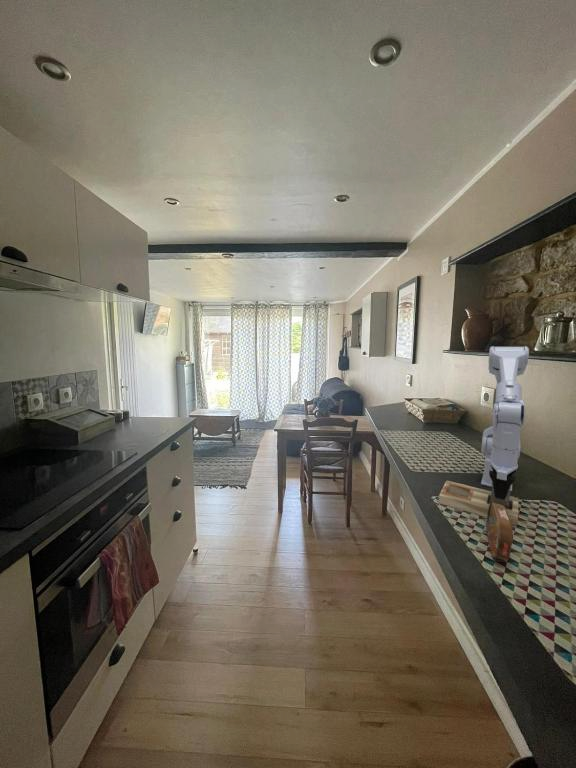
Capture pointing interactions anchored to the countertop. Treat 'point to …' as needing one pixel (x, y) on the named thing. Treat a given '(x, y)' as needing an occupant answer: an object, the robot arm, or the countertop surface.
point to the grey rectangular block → (500, 501)
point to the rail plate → (473, 500)
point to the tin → (499, 531)
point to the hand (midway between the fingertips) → (500, 494)
